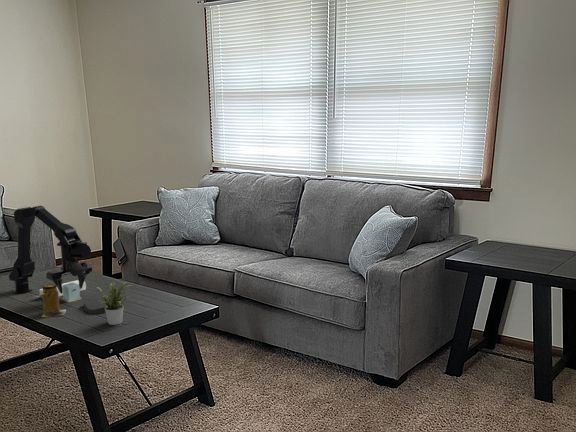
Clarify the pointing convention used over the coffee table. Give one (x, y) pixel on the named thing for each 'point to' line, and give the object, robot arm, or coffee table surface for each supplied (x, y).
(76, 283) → the power strip
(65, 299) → the board
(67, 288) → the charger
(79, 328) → the coffee table surface
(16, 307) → the coffee table surface
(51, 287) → the condiment
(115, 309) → the house plant
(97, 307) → the media streaming box
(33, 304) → the coffee table surface
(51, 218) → the robot arm
